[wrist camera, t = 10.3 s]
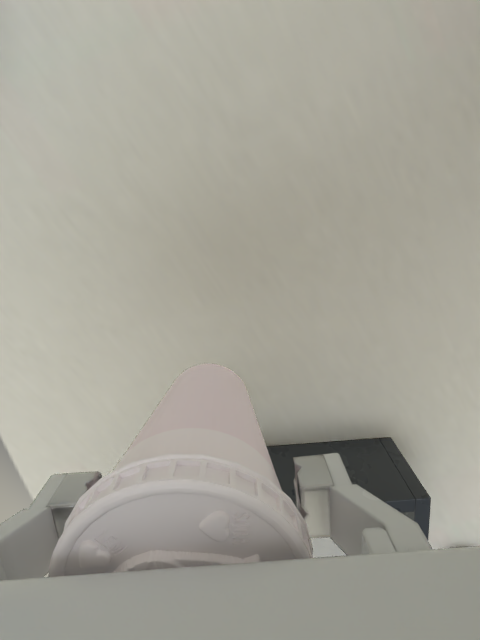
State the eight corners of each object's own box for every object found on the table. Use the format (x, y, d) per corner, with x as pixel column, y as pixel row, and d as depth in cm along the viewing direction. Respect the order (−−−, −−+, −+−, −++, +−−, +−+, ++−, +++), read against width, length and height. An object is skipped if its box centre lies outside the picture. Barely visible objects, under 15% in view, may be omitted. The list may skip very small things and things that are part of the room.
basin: (391, 437, 33) (431, 498, 26) (386, 597, 37) (418, 683, 31) (181, 452, 33) (168, 517, 26) (203, 609, 38) (196, 698, 31)
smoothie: (115, 364, 18) (-229, 829, 5) (248, 313, 18) (289, 678, 4) (174, 476, 20) (46, 1055, 6) (296, 433, 19) (440, 971, 6)
